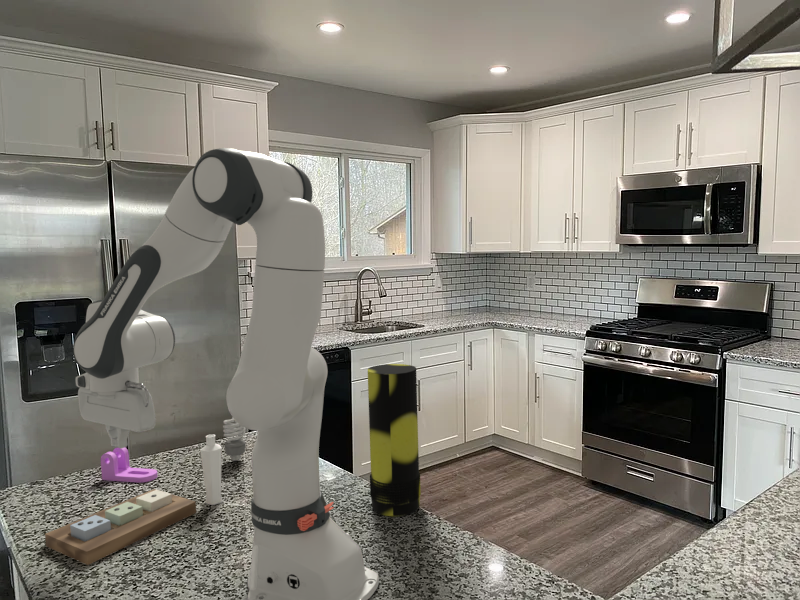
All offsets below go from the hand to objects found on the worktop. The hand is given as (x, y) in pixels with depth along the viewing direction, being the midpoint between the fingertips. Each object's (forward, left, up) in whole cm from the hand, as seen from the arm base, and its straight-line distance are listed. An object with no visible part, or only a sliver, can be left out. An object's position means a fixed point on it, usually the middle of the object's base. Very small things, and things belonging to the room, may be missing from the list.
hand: (119, 446), depth 120 cm
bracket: (+24, -18, -18) cm, 35 cm away
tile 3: (0, +7, -15) cm, 17 cm away
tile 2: (0, 0, -15) cm, 15 cm away
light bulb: (+9, -38, -17) cm, 43 cm away
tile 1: (0, -7, -15) cm, 17 cm away
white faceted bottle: (-6, -18, -17) cm, 26 cm away
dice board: (0, 0, -17) cm, 17 cm away
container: (-43, -35, -17) cm, 58 cm away
